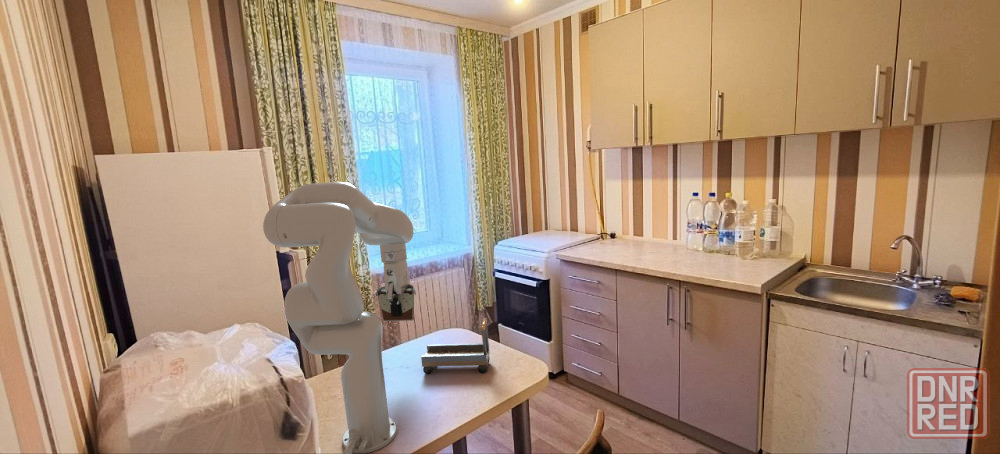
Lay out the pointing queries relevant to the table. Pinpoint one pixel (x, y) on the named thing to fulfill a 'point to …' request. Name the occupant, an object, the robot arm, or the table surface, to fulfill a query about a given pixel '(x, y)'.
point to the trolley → (458, 354)
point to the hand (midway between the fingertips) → (399, 311)
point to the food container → (405, 301)
